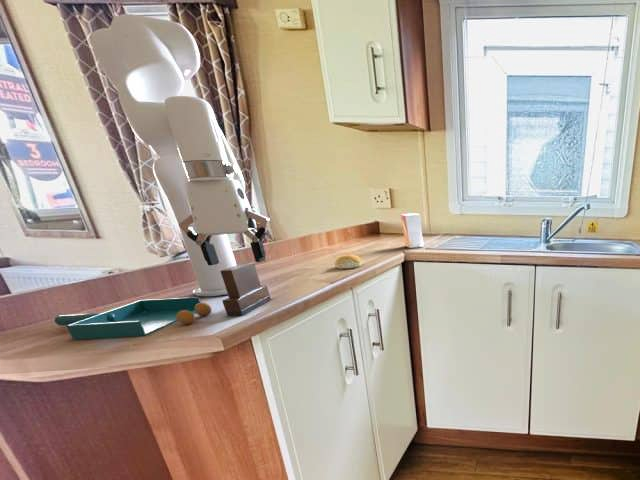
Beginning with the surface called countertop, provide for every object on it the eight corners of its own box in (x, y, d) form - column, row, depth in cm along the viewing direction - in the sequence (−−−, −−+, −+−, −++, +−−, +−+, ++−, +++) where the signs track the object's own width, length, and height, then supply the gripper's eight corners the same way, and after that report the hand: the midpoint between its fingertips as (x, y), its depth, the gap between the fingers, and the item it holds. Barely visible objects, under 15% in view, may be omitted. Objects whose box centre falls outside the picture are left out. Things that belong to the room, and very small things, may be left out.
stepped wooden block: (257, 300, 100) (246, 261, 96) (270, 299, 100) (259, 260, 96) (227, 316, 87) (212, 272, 84) (242, 315, 88) (228, 271, 84)
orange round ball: (202, 314, 90) (197, 301, 89) (215, 313, 90) (211, 300, 89) (194, 317, 88) (189, 304, 86) (208, 317, 88) (203, 303, 87)
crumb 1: (185, 322, 85) (180, 308, 83) (199, 321, 85) (194, 307, 84) (176, 326, 82) (170, 312, 81) (191, 325, 82) (186, 311, 81)
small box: (404, 246, 184) (400, 214, 178) (419, 244, 187) (415, 213, 181) (409, 248, 178) (405, 215, 172) (424, 246, 180) (420, 214, 174)
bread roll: (363, 263, 144) (360, 251, 143) (360, 268, 137) (358, 255, 135) (337, 265, 143) (335, 253, 141) (333, 269, 135) (330, 257, 133)
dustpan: (202, 308, 94) (198, 296, 93) (144, 335, 77) (138, 321, 76) (97, 314, 93) (91, 302, 92) (14, 343, 76) (6, 329, 75)
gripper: (263, 171, 86) (286, 257, 93) (175, 176, 85) (205, 263, 92) (245, 169, 79) (271, 262, 86) (149, 174, 78) (184, 268, 85)
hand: (237, 262), depth 89 cm, fingers open, 9 cm apart
